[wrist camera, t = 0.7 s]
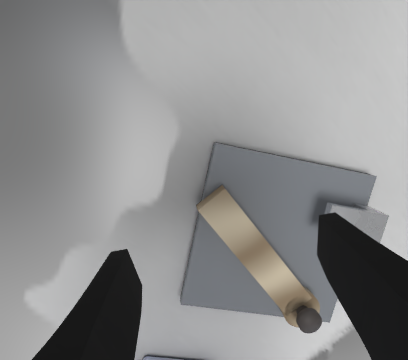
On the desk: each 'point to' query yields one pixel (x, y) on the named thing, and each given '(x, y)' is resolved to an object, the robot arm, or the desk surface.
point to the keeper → (362, 218)
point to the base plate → (268, 227)
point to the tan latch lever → (261, 260)
